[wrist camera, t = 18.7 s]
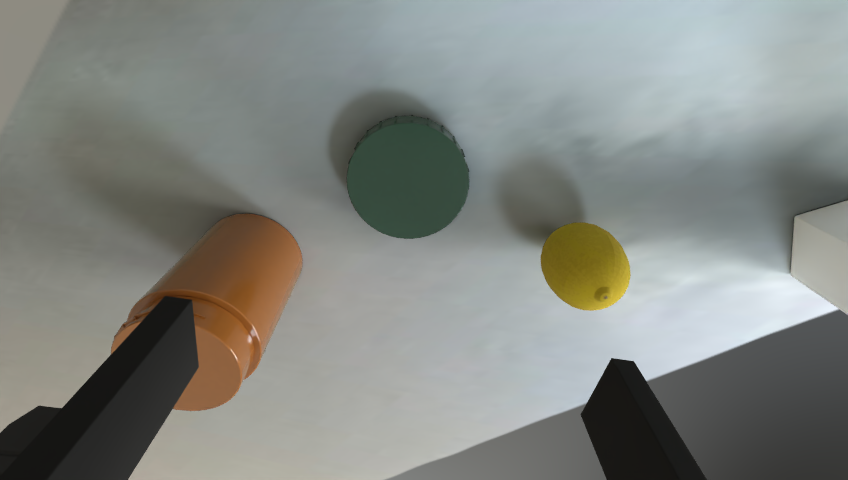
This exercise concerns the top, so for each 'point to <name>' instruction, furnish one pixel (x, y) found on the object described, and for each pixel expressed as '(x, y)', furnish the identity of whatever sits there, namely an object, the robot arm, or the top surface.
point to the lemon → (585, 266)
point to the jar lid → (408, 177)
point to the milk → (823, 252)
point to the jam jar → (227, 301)
